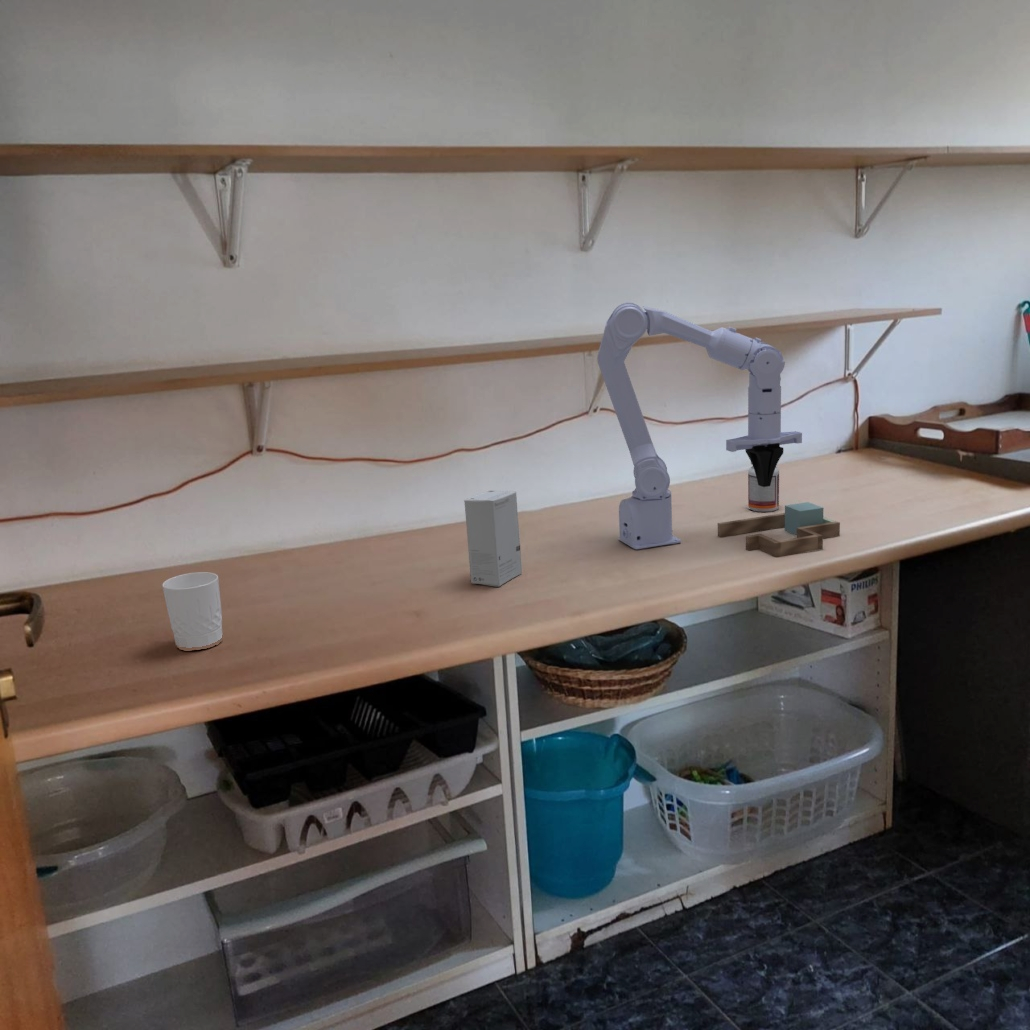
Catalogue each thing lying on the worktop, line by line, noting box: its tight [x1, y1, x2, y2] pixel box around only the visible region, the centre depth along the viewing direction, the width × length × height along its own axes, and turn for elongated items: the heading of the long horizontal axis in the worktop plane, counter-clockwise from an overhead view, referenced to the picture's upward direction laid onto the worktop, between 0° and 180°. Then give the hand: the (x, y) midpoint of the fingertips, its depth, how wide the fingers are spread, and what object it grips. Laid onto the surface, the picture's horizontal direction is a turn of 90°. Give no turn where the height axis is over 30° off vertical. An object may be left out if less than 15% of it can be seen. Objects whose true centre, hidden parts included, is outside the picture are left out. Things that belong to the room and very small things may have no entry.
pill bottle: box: [747, 462, 780, 513], centre depth 199 cm, size 6×6×11 cm
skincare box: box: [463, 490, 523, 588], centre depth 165 cm, size 8×6×15 cm
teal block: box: [784, 501, 824, 537], centre depth 182 cm, size 5×5×5 cm
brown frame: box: [717, 512, 841, 558], centre depth 178 cm, size 19×16×2 cm
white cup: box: [161, 571, 224, 648], centre depth 144 cm, size 8×8×10 cm
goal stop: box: [823, 516, 836, 523], centre depth 183 cm, size 1×9×2 cm, turn 18°
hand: (764, 485), depth 178 cm, fingers closed
